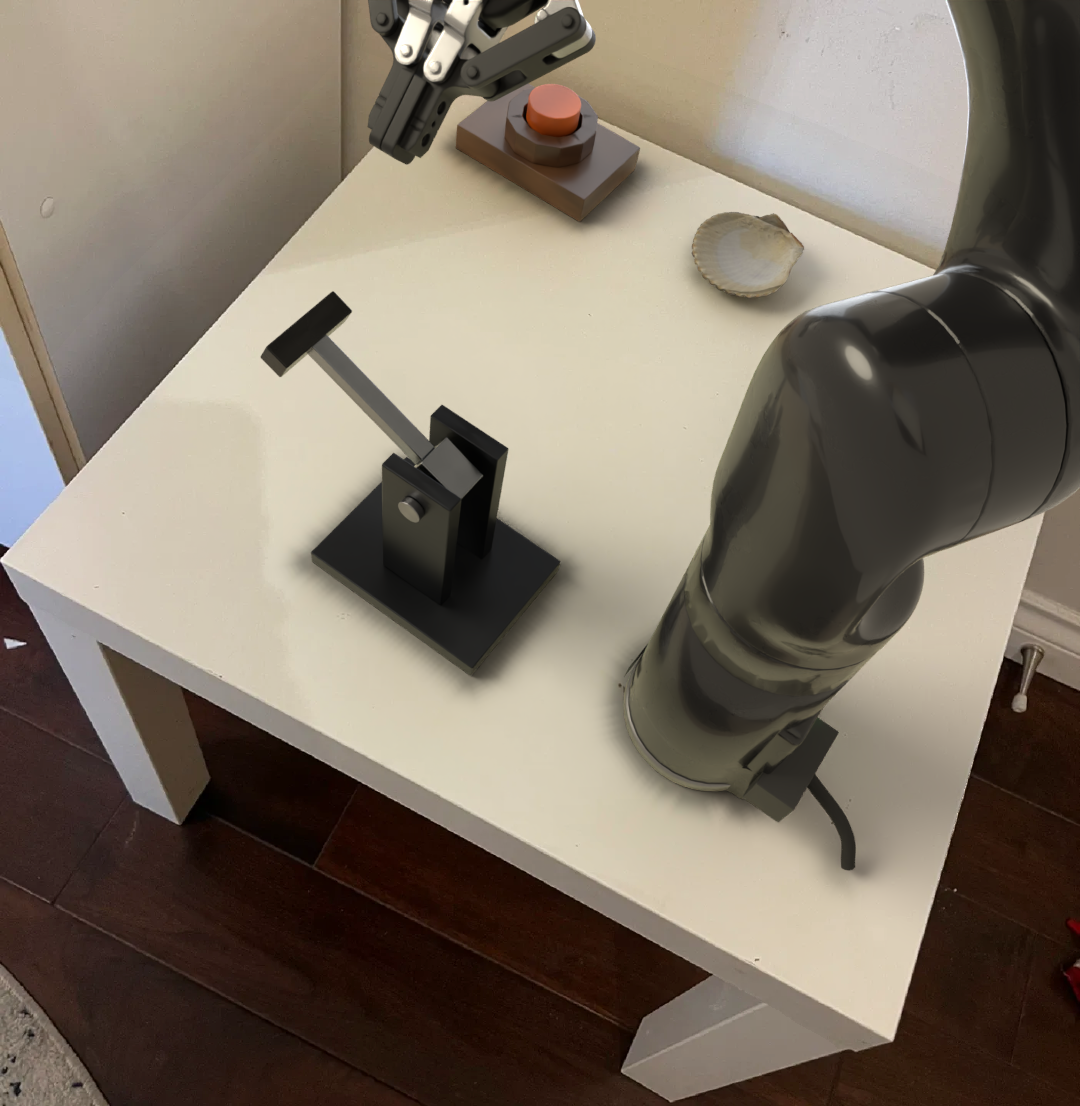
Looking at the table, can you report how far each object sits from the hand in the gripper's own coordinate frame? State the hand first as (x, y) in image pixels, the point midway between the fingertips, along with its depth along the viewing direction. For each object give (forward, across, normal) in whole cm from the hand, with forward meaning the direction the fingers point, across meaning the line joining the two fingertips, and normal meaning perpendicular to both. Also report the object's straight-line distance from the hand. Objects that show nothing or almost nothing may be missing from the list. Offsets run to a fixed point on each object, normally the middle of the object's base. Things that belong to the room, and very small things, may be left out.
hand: (389, 154), depth 50 cm
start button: (-7, -7, +32) cm, 34 cm away
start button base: (-5, -7, +35) cm, 36 cm away
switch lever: (+12, +4, +3) cm, 13 cm away
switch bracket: (+20, +9, +11) cm, 24 cm away
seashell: (-5, +11, +35) cm, 37 cm away
